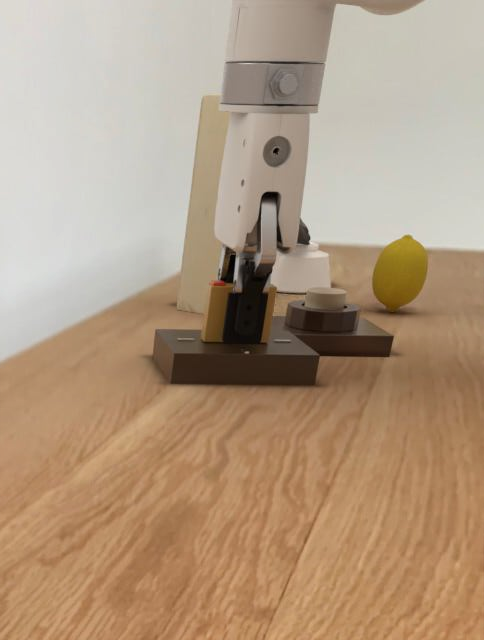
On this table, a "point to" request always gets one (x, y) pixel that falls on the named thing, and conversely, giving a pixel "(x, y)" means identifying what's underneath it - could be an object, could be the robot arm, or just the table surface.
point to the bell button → (325, 298)
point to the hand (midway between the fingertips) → (234, 335)
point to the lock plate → (234, 360)
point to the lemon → (400, 273)
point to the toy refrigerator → (203, 208)
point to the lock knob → (217, 309)
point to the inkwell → (301, 266)
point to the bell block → (334, 331)
